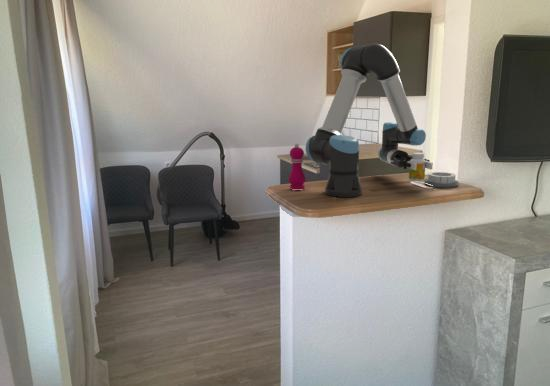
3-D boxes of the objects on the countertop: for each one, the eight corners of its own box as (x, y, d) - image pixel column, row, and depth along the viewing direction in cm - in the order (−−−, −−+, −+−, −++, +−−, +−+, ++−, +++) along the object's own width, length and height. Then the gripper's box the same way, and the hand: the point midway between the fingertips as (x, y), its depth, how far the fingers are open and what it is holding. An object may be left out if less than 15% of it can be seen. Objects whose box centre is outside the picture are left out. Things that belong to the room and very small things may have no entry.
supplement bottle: (406, 180, 175) (407, 153, 173) (412, 177, 180) (414, 151, 177) (420, 182, 171) (422, 154, 169) (426, 179, 176) (428, 152, 173)
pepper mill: (303, 187, 185) (303, 142, 180) (307, 190, 178) (306, 144, 173) (287, 188, 184) (286, 142, 179) (290, 191, 177) (289, 145, 172)
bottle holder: (426, 187, 179) (427, 177, 177) (421, 180, 192) (422, 171, 191) (461, 188, 176) (462, 177, 175) (454, 181, 189) (454, 171, 188)
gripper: (417, 165, 194) (444, 174, 172) (378, 167, 191) (400, 176, 169) (418, 149, 192) (446, 156, 170) (378, 150, 189) (402, 158, 167)
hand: (423, 166), depth 169 cm, fingers closed on supplement bottle, 6 cm apart
